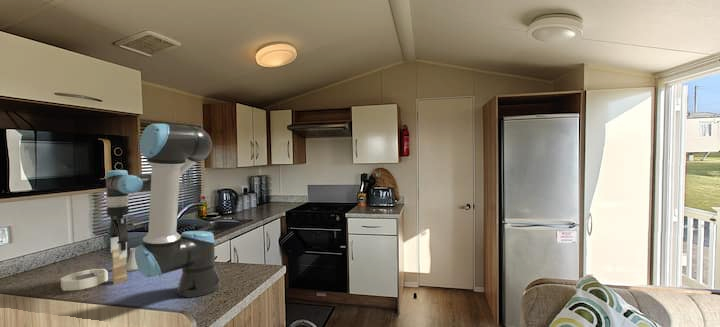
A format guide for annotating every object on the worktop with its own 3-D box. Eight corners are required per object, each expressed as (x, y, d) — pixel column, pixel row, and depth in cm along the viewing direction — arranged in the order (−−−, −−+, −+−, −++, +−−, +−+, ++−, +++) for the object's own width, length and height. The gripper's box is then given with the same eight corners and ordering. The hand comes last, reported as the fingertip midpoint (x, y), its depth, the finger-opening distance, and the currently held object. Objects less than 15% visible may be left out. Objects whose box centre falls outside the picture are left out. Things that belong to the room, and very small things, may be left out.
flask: (127, 272, 150) (127, 251, 150) (122, 269, 154) (121, 249, 154) (145, 268, 156) (144, 247, 156) (139, 265, 160) (139, 245, 160)
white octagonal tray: (110, 282, 138) (110, 273, 138) (64, 293, 127) (64, 283, 127) (102, 275, 147) (102, 266, 147) (59, 284, 136) (59, 275, 136)
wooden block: (126, 281, 139) (126, 248, 139) (114, 284, 135) (113, 251, 135) (125, 279, 140) (124, 248, 140) (112, 282, 137) (111, 250, 137)
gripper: (136, 207, 132) (137, 258, 133) (120, 202, 149) (121, 247, 149) (114, 209, 127) (115, 262, 127) (100, 204, 143) (101, 251, 143)
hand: (118, 254), depth 138 cm, fingers open, 13 cm apart
